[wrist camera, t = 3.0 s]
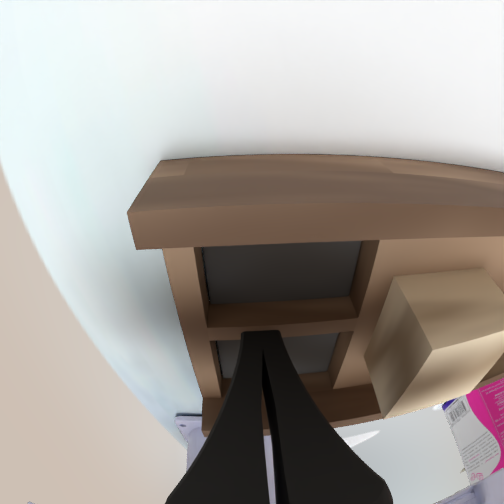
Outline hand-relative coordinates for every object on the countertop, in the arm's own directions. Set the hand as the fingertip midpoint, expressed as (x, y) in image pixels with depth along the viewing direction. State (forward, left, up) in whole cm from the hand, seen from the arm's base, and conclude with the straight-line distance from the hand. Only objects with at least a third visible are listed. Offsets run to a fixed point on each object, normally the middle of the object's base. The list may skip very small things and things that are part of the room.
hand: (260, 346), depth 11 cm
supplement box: (-15, -22, -2) cm, 27 cm away
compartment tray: (0, -10, -2) cm, 10 cm away
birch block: (0, -7, -1) cm, 8 cm away
